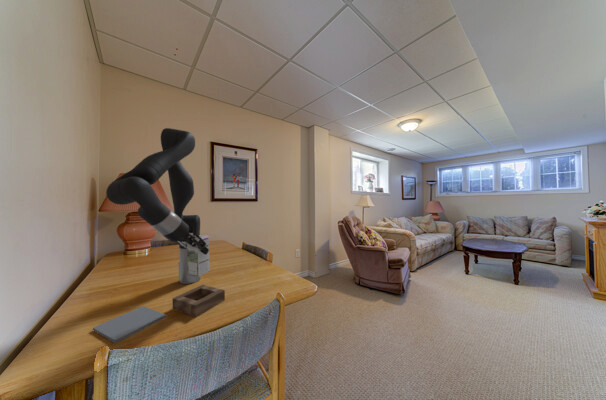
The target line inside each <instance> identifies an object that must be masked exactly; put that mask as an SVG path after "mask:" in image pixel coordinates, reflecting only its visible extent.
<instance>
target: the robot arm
mask: <svg viewBox="0 0 606 400" xmlns="http://www.w3.org/2000/svg"><path fill="white" fill-rule="evenodd" d="M160 144H161V148H162V150H160V151H157V152H154V153H152V154H149V155H148V156H146V157H144V158H143V159H142V160H140V162H139V163H137V164H136V165H135V166H134V167H133V168H132V169H130V170H129V171H127V172H126V173H123V175H121V176H119V177H118V178H116V179H114V180H113V181H112V182H111V183H110V184H109V185H108V186H107V188H106V192H105V193H106V197H107V199H108V200H109V201H110V202H112V203H113V204H115V205H120V206H121V205H124V206H125V205H128V204H133V203H137V204H138V205H139V208H138V209H137V215H138V216H139V217H140V218H141V219H143V220H144V221H145V222H146V223H147V224H149V225H150V226H151V227H152V228H153V229H154V230H155V231H156V232H158V233H159V234H160V235H161V236H163V237H164V238H166V240H168V241H169V242H173V243H176V244H178V246H179V248H178V249H179V250H178V251H179V253H178V254H179V262H178V282H179V283H180V284H183V285H189V284H194V283H196V282H198V281H200V280H201V276H202V275H201V276H193V275H188V265H187V245H189V246H191V247H195V248H197V249H198V250H200V251H201V252H202V253H203V254H207V253H208V251H209V252H210V248H209V249H208V248H207V247H205V245H206V243H205V242H204V241H203V239H202V238H201V237H200V236H201V218H200V216H199V214H198V215H197V214H189V215H184V214H183V212H184V211H185V208H186V206H187V205H188V204H189V203H190V202H191V200H192V199H193V198H194V195H195V188H194V186H195V185H194V180H193V177H192V176H191V174H190V173H189V172H188V171H187V169H186V168H185V167H184V166H183V164H182V162H181V161H182V160H184V159H185V158H186V157H187V156H189V155H190V154H192V153H193V151H194V149H195V147H196V138H195V136H194V135H193V133H192V132H189V131H188V130H187V131H186V130H181V129H175V128H170V127H165V128H163V129H162V130H161V133H160ZM166 172H167V175H168V180H169V187H170V188H169V189H170V195H171V198H172V199H171V200H172V203H173V211H172V210H171V209H170V208H168V206H167V205H165V204H164V203H163V202H162V201H161V199H160V198H159V196H158V195H157V193H156V191H155V190H154V188H153V185H154V184H156V182H157V181H158V180H160V179H161V177H162V176H163V175H164V174H165V173H166ZM158 182H159V181H158ZM192 243H194V244H193V245H192ZM196 245H197V246H196Z"/></svg>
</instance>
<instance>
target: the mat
mask: <svg viewBox="0 0 606 400" xmlns="http://www.w3.org/2000/svg"><path fill="white" fill-rule="evenodd" d="M163 319H167V314H165V313H162V312H160V311H157V310H155V309H152V308H149V307H147V306H145V305H143V306H140V307H138V308H135V309H133V310H130V311H129V312H126V313H123V314H122V315H119V316H117V317H114V318H112V319H109V320H107V321H105V322H102V323H100V324H97V325H95V326H93V327H92V331H93V330H94V331H96V332H98V333H99V334H101V335H103V336H104V337H106V338H107V339H106V338H105V339H106V340H108V339H109V340H110V342H111V341H112V342H111V343H113V344H115V345H116V344H118V343H120V342H122V341H123V339H124V340H125V338H126V339H127V338H130V337H131V336H133V335H135V334H137V333H139V332H140V331H143V330H145V329H147V328H149V327H151V326H152V325H154V324H156V323H158V322H160V321H162V320H163ZM94 331H93V332H94ZM96 332H95V333H96ZM98 333H97V334H98ZM99 334H98V335H99ZM101 335H100V336H101ZM103 336H102V337H103ZM104 337H103V338H104ZM109 340H108V341H109Z"/></svg>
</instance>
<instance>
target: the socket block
mask: <svg viewBox="0 0 606 400" xmlns="http://www.w3.org/2000/svg"><path fill="white" fill-rule="evenodd" d="M225 295H226V291H225V290H224V289H223V288H217V287H213V286H209V285H206V284H201V285H198V286H196V287H194V288H192V289H190V290H188V291H186V292H183V293H181V294H178V295H177V296H175V297H172V309H173V310H174V311H177V312H181V313H184V314H186V315H188V316H192V317H194V318H197V317H199V316H200V315H201V314H204V313H205V312H207V311H209V310H210V309H212V308H213V307H215V306H217V305H219V304H221V303H222V302H224V301H225V300H226V297H225Z"/></svg>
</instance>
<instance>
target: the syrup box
mask: <svg viewBox="0 0 606 400" xmlns="http://www.w3.org/2000/svg"><path fill="white" fill-rule="evenodd" d="M200 237H201V238H202V239H203V241H204V242H205V243H206V245H205V247H207V248H208V249H209V251H208V253H207V254H203V253H202V252H201V251H200V250H198V249H197V248H195V247H191V246H189V245H187V265H188V275H193V276H203V275H206V274H207V273H210V272H211V271H210V269H211V268H210V236H209V235H200ZM193 244H194V243H192V245H193ZM196 246H197V245H196Z"/></svg>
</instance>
